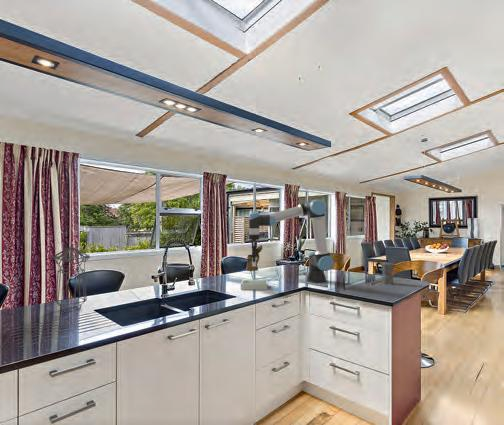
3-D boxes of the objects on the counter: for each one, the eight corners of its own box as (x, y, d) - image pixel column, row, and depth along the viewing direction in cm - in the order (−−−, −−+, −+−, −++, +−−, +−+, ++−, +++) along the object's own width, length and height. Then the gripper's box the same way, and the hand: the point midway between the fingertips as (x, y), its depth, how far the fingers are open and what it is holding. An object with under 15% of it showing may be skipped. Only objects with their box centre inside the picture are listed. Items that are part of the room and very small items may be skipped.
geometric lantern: (79, 304, 190) (79, 245, 191) (91, 309, 180) (91, 246, 181) (49, 310, 178) (50, 247, 179) (60, 315, 168) (61, 248, 169)
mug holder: (267, 285, 240) (267, 280, 240) (267, 289, 226) (267, 284, 226) (242, 285, 241) (242, 280, 242) (240, 289, 227) (240, 283, 228)
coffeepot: (398, 283, 244) (398, 260, 245) (393, 285, 238) (393, 261, 238) (378, 280, 255) (378, 258, 256) (373, 282, 249) (373, 259, 249)
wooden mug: (265, 269, 235) (265, 245, 235) (250, 271, 228) (249, 246, 228) (258, 268, 242) (258, 244, 243) (243, 270, 235) (243, 245, 235)
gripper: (250, 233, 245) (250, 263, 244) (248, 234, 225) (248, 267, 224) (260, 233, 244) (260, 263, 244) (258, 234, 224) (258, 267, 224)
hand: (254, 265), depth 234 cm, fingers closed on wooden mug, 7 cm apart
